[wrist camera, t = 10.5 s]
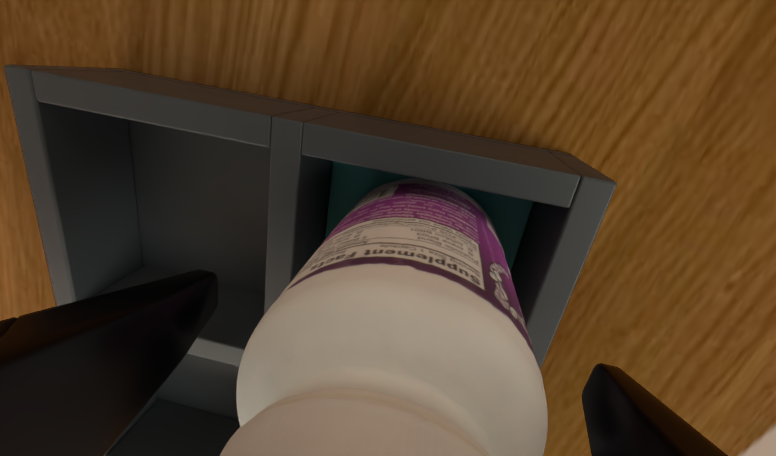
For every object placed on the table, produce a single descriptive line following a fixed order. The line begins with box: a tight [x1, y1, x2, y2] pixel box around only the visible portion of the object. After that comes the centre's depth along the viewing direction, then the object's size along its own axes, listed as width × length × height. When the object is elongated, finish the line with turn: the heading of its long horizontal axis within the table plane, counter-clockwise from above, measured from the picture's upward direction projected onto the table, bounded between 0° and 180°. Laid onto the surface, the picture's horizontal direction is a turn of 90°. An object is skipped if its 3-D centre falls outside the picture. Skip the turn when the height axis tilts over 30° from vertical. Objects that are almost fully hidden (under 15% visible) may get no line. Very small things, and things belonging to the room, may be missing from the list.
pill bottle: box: [220, 178, 548, 456], centre depth 8 cm, size 5×5×10 cm
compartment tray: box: [4, 65, 617, 456], centre depth 14 cm, size 15×15×4 cm
